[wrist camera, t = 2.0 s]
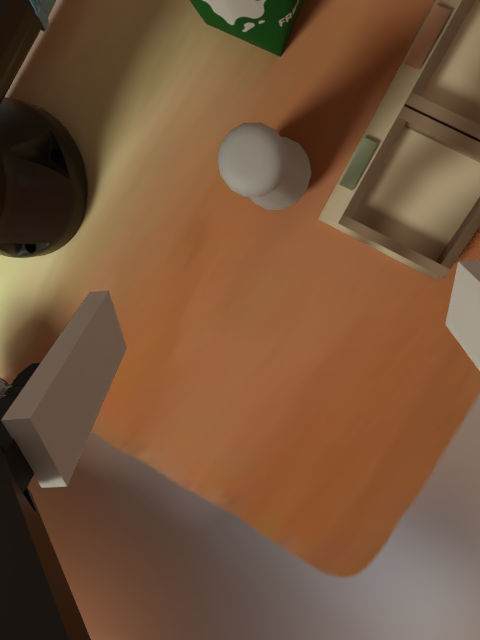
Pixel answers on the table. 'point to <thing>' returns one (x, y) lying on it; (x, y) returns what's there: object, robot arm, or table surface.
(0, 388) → the wine glass
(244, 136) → the salt shaker
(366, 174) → the socket board
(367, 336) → the table surface
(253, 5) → the milk carton
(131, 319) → the table surface
